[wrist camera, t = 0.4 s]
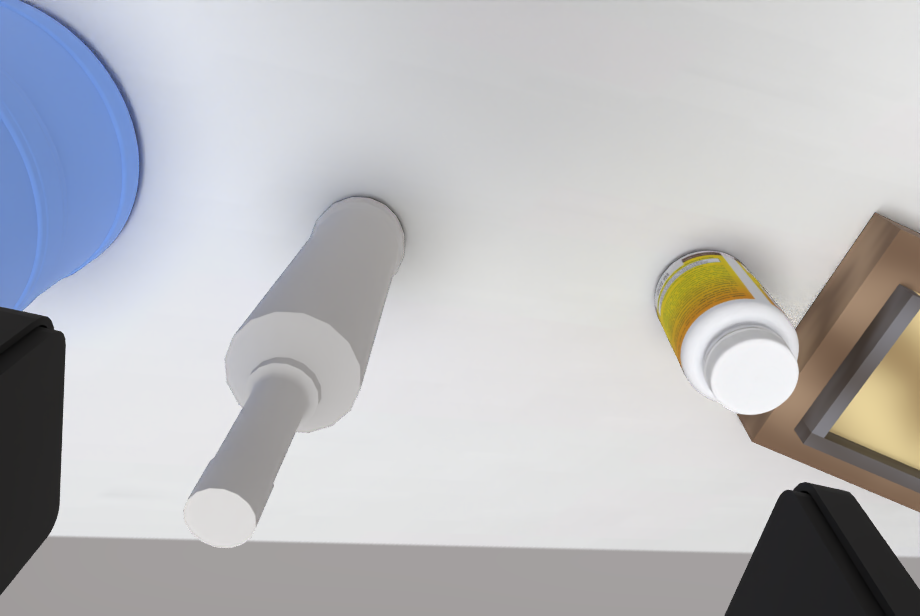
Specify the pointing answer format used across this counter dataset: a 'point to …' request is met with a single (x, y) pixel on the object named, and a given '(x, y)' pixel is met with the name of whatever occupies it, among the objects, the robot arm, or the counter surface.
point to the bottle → (298, 361)
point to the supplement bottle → (728, 333)
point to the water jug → (57, 155)
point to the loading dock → (859, 371)
